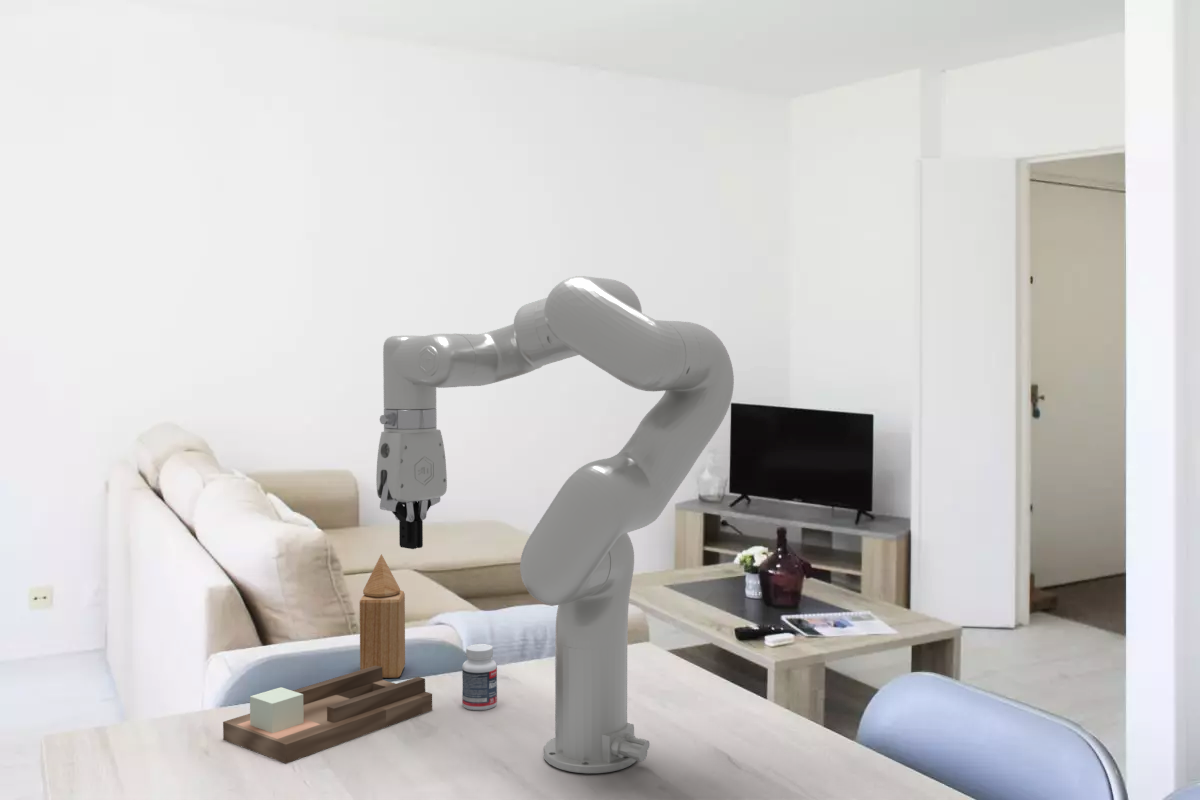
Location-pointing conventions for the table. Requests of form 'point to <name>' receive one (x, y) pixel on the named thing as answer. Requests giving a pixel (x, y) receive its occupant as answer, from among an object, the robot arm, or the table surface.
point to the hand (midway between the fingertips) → (411, 547)
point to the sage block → (276, 709)
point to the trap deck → (335, 714)
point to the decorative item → (382, 623)
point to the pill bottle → (479, 678)
